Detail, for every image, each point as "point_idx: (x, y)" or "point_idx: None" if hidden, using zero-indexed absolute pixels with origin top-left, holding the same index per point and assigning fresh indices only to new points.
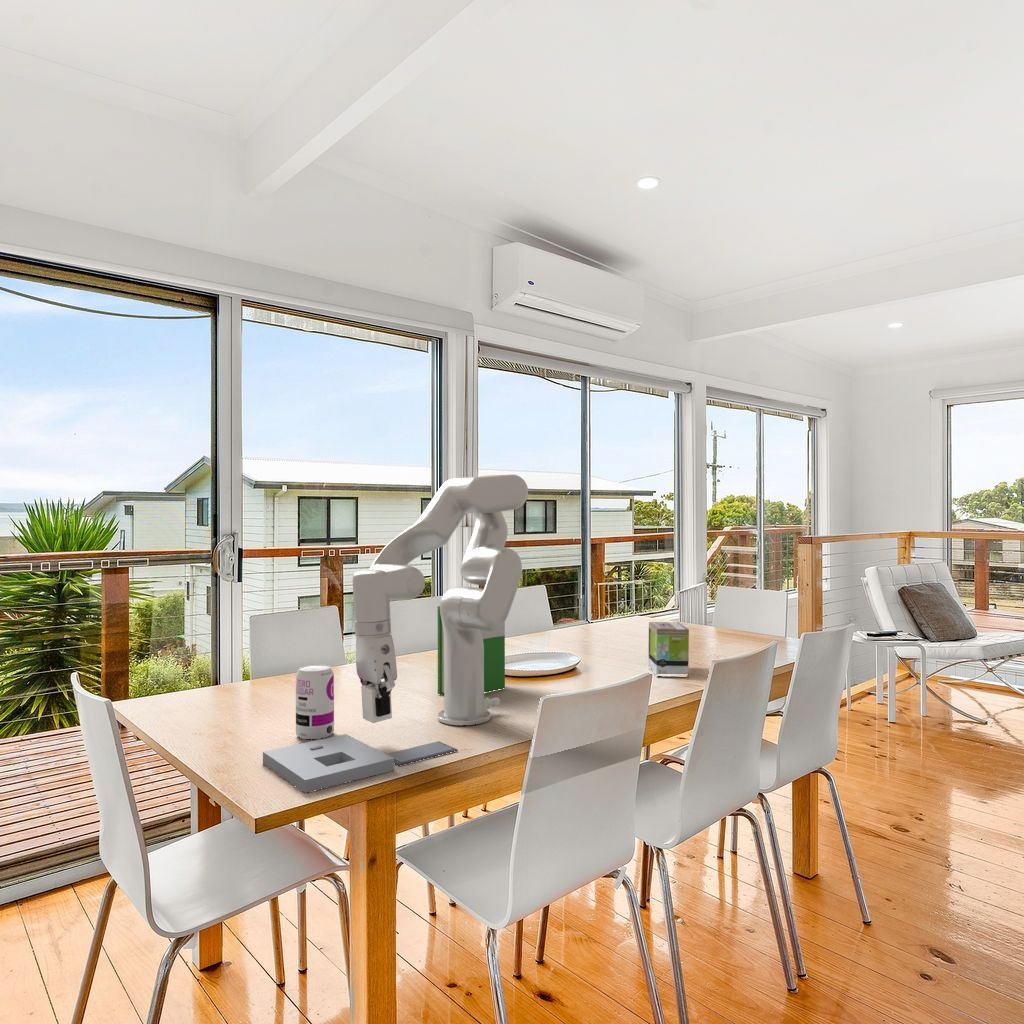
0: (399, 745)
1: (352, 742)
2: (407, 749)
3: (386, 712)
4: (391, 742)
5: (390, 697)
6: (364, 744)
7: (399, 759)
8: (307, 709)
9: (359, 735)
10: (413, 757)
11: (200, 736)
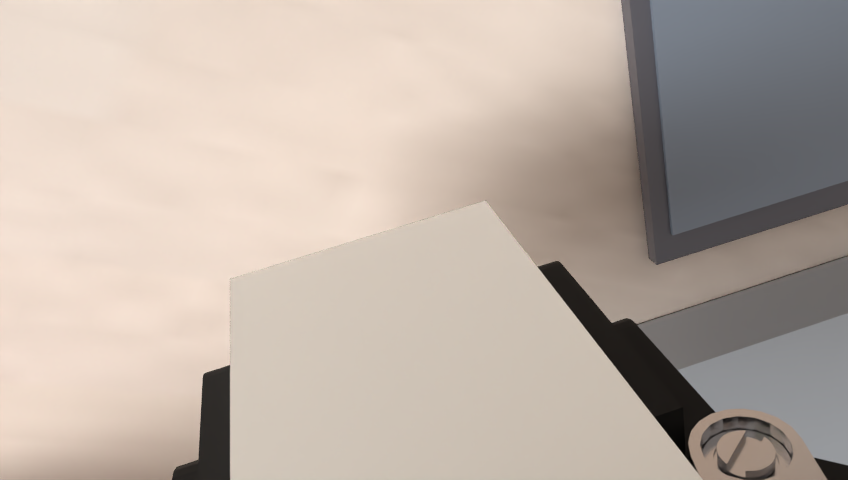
0: (460, 63)
1: None
2: (662, 53)
3: None
4: (346, 107)
5: (597, 352)
6: None
7: (820, 171)
8: None
9: (24, 325)
10: (845, 64)
11: None
